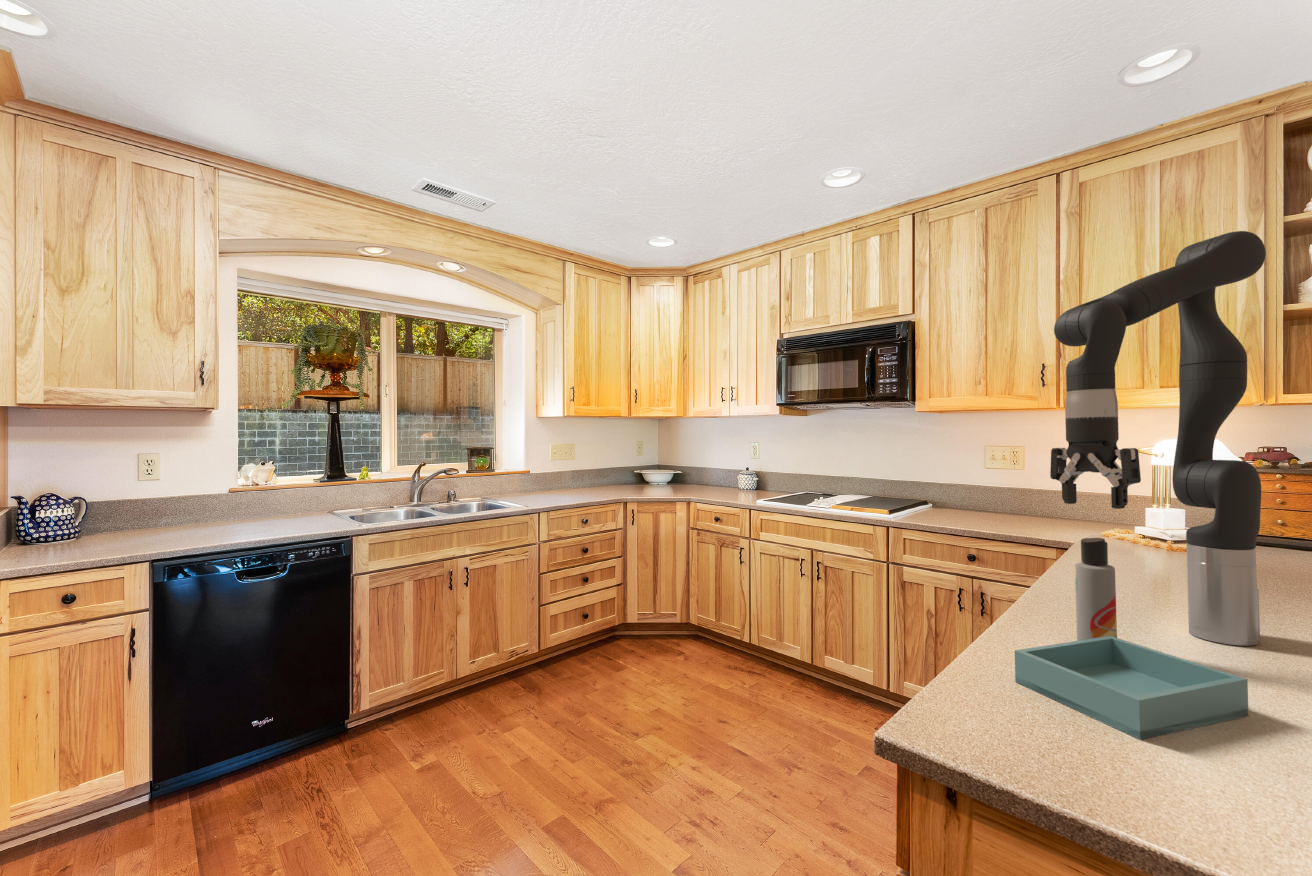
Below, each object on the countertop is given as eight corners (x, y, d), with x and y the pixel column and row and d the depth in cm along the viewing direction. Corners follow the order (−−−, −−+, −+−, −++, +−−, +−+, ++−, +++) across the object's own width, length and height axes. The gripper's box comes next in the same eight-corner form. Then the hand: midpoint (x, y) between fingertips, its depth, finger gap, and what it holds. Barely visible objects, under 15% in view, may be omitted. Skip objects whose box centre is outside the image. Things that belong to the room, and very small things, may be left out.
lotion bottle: (1124, 656, 98) (1121, 541, 98) (1087, 654, 99) (1084, 540, 99) (1105, 644, 103) (1102, 535, 104) (1070, 643, 105) (1067, 535, 105)
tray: (1110, 665, 94) (1109, 635, 94) (1248, 715, 77) (1247, 678, 77) (1015, 681, 89) (1014, 650, 89) (1140, 739, 71) (1139, 700, 72)
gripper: (1150, 413, 96) (1152, 509, 95) (1068, 417, 109) (1070, 501, 109) (1117, 413, 94) (1119, 511, 93) (1038, 417, 107) (1040, 503, 107)
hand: (1093, 505), depth 101 cm, fingers open, 8 cm apart
